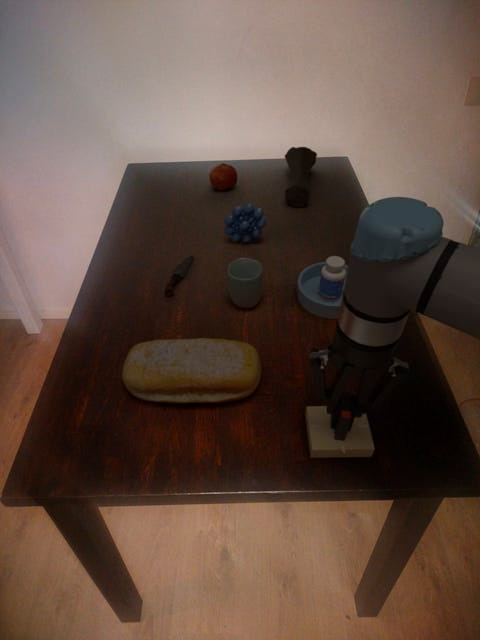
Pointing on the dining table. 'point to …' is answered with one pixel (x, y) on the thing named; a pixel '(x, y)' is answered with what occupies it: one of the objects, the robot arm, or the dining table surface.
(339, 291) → the pill bottle
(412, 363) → the dining table surface
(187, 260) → the knife
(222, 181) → the tomato
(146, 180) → the dining table surface
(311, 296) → the shallow blue dish
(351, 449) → the tan flat block
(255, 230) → the grapes
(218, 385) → the bread
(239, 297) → the cup
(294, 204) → the scalloped vase
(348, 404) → the black block red label
